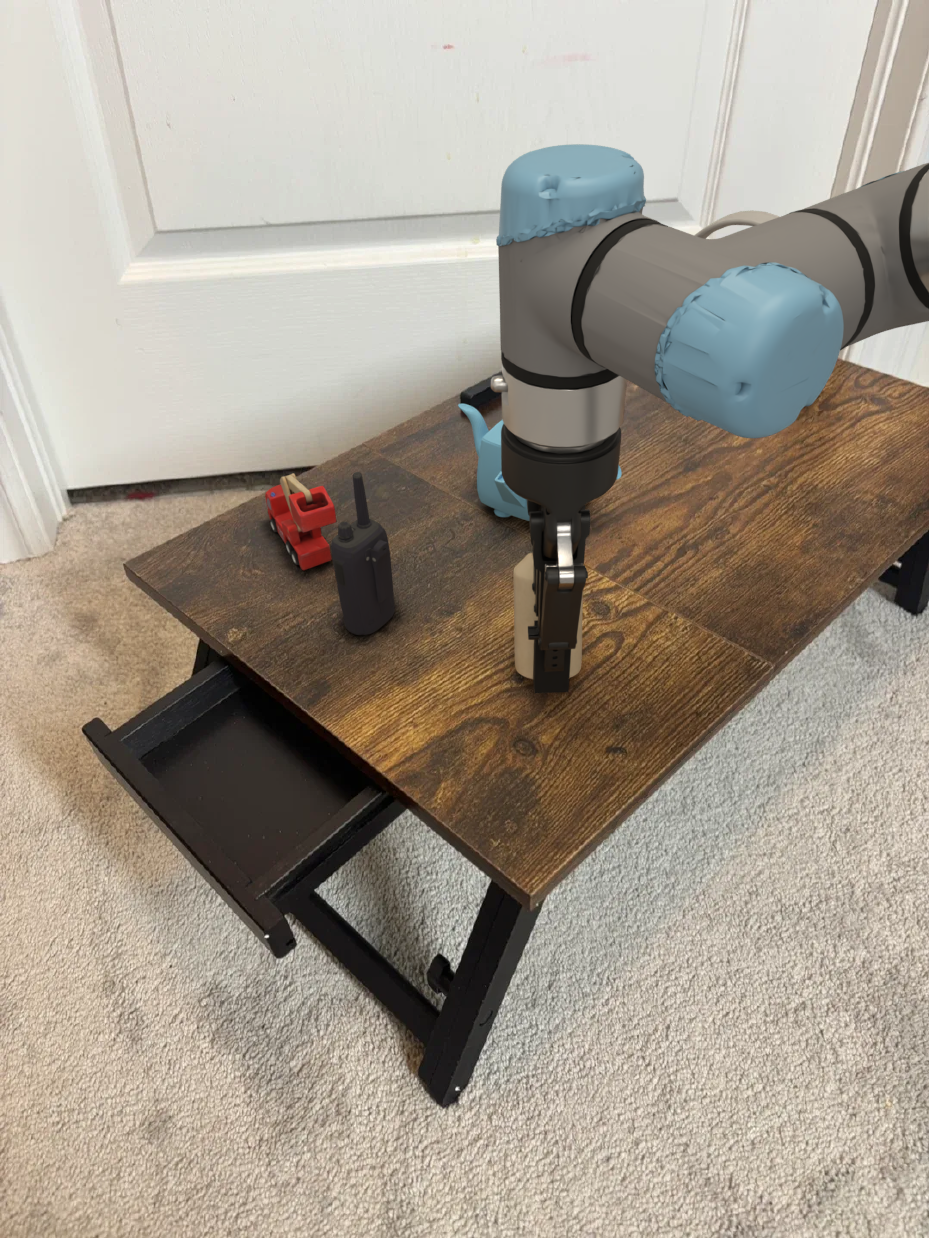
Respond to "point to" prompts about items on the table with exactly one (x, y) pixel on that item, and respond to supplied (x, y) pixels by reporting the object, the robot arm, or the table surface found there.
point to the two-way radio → (363, 569)
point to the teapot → (494, 469)
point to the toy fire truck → (301, 520)
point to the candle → (526, 617)
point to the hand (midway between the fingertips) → (550, 686)
